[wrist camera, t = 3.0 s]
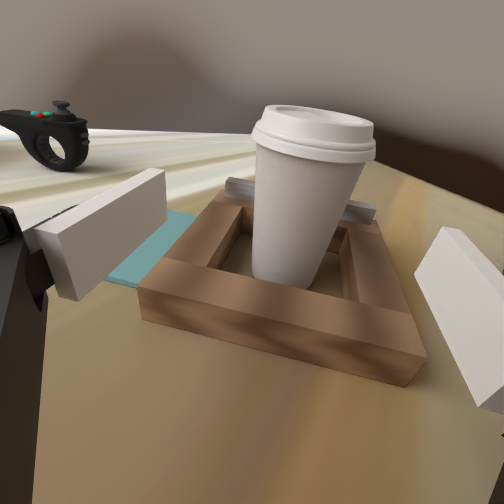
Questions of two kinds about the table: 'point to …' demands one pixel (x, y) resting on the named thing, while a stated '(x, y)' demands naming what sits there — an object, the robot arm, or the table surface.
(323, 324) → the cup holder
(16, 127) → the controller
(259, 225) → the coffee cup
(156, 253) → the pad
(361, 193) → the table surface
